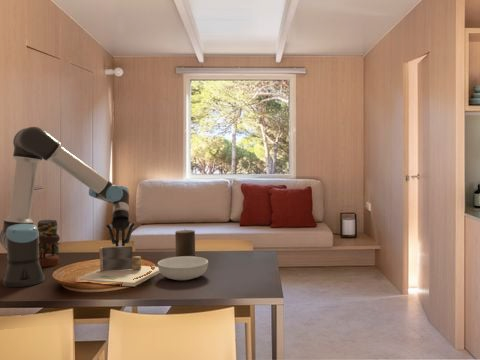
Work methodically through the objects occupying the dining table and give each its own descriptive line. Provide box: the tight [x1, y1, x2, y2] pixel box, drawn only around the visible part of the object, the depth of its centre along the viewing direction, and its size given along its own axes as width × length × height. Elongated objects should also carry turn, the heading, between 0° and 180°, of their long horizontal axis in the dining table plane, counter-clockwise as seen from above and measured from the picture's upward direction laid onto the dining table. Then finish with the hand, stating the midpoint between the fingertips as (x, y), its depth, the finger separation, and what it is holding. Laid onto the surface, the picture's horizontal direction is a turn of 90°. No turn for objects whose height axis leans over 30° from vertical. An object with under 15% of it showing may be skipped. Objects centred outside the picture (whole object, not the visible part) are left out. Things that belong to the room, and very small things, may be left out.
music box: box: [37, 223, 61, 268], centre depth 219 cm, size 15×11×20 cm
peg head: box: [98, 245, 142, 272], centre depth 197 cm, size 17×4×10 cm, turn 101°
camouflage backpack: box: [37, 219, 59, 255], centre depth 243 cm, size 10×8×19 cm
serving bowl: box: [157, 256, 209, 281], centre depth 189 cm, size 21×21×7 cm
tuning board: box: [75, 265, 161, 287], centre depth 193 cm, size 26×27×2 cm
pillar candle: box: [175, 229, 196, 257], centre depth 226 cm, size 10×10×15 cm
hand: (120, 255), depth 202 cm, fingers closed
